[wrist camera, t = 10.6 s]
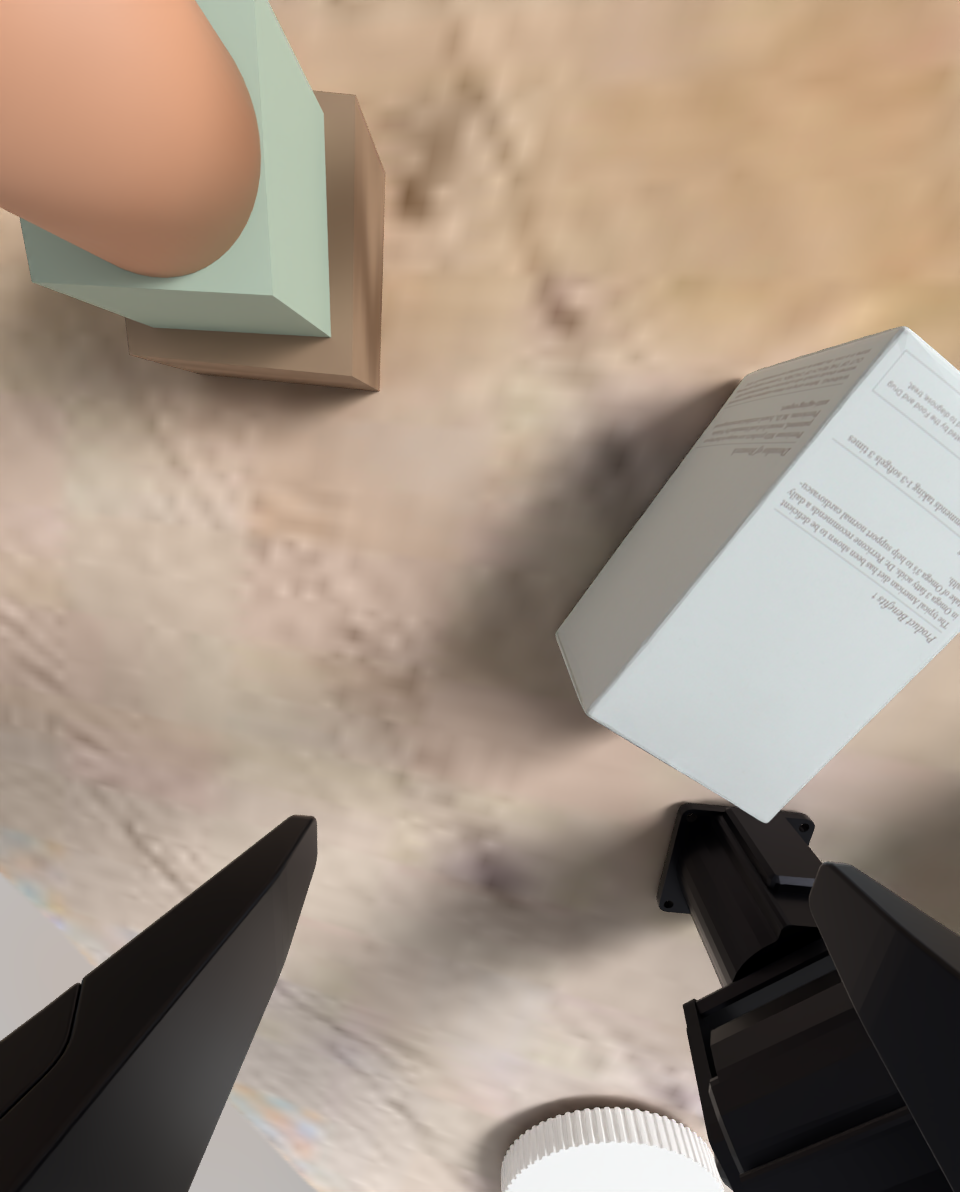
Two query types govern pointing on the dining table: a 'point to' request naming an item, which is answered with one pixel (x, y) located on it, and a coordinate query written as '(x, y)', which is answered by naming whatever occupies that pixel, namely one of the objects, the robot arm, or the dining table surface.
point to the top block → (273, 232)
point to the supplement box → (783, 572)
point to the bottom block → (351, 282)
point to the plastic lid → (609, 1155)
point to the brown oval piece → (126, 131)
